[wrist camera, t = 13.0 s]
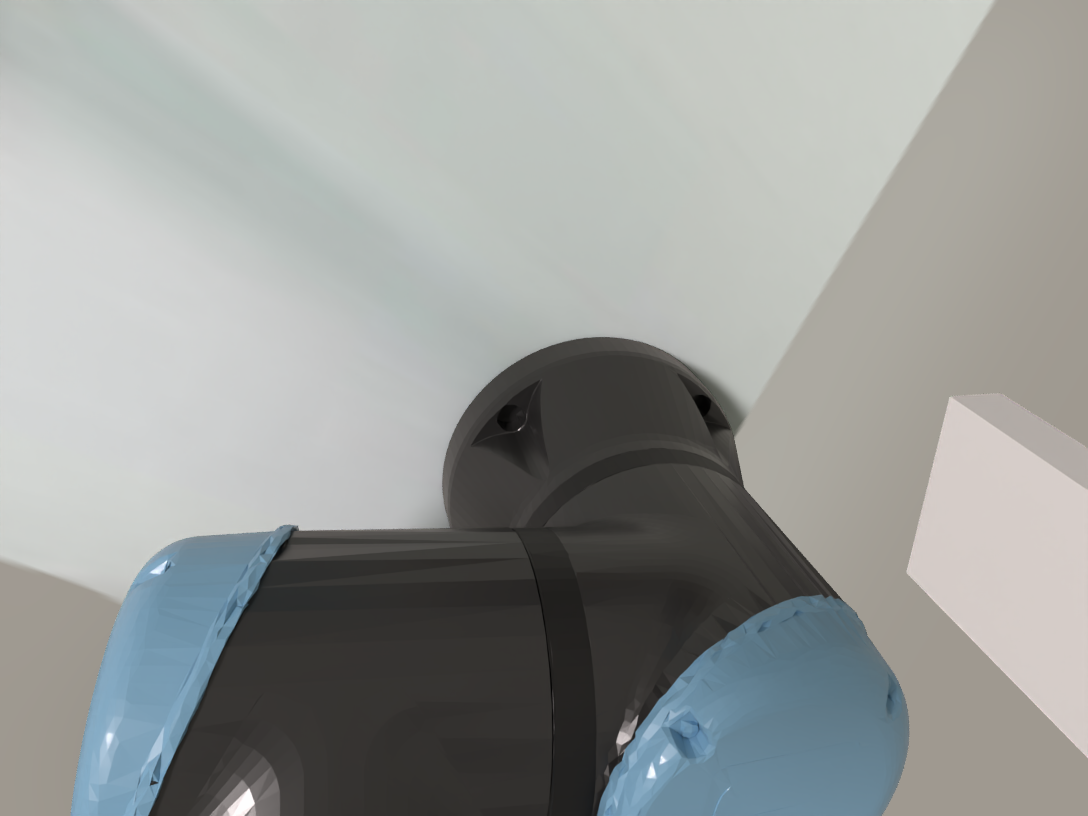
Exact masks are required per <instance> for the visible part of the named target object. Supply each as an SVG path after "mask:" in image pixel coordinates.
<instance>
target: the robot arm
mask: <svg viewBox="0 0 1088 816" xmlns="http://www.w3.org/2000/svg"><path fill="white" fill-rule="evenodd" d="M442 487H443V499H444V505H445V509H446V513H447V517H448V521H449V524H450V528H438V529H375V530H311V531H299V529H298V526H295V525H283V526H280V527H279V528H278V529H276V530H275V531H272V532H257V533H242V534H226V535H211V536H197V537H191V538H186V539H182V540H179V541H176V542H174V543H172V544H170V545H168V546H167V547H165V548H164V549H162V550H161V551H160V552H158V553H157V554H156V555H154V556H153V557H152V558H151V559H150V560H149V561H148V562H147V563H146V564H145V566H144V567H143V568H142V569H141V571H140V572H139V573H138V575H137V576H136V578H135V580H134V582H133V583H132V585H131V587H130V589H129V591H128V593H127V595H126V598H125V599H124V601H123V604H122V606H121V608H120V611H119V613H118V616H117V618H116V621H115V623H114V626H113V629H112V632H111V635H110V638H109V641H108V644H107V647H106V650H105V653H104V657H103V660H102V663H101V667H100V670H99V674H98V678H97V682H96V685H95V689H94V693H93V697H92V701H91V705H90V709H89V713H88V718H87V722H86V727H85V732H84V736H83V741H82V746H81V752H80V758H79V762H78V768H77V774H76V780H75V786H74V793H73V800H72V808H71V816H882V814H883V812H884V811H885V810H886V808H887V806H888V804H889V802H890V800H891V798H892V796H893V794H894V792H895V790H896V788H897V785H898V783H899V780H900V778H901V775H902V771H903V768H904V764H905V761H906V757H907V750H908V744H909V716H908V709H907V705H906V701H905V697H904V695H903V692H902V689H901V687H900V684H899V682H898V680H897V678H896V676H895V675H894V673H893V672H892V670H891V669H890V667H889V666H888V665H887V663H886V661H885V660H884V659H883V657H882V656H881V654H880V653H879V652H878V650H877V649H876V647H875V646H874V645H873V643H872V642H871V640H870V639H869V638H868V636H867V632H866V630H865V627H864V625H863V623H862V621H861V620H860V619H859V618H858V616H857V614H856V612H855V611H854V610H853V609H852V608H851V607H849V606H848V605H847V604H846V603H845V602H844V601H843V600H842V599H841V598H840V597H839V596H838V594H837V593H836V592H835V591H834V590H833V589H832V588H831V586H830V585H829V584H828V583H827V582H826V581H825V580H824V579H823V577H822V576H821V575H820V574H819V573H818V572H817V570H816V569H815V568H814V567H813V566H812V565H811V564H810V562H808V560H807V559H806V558H805V557H804V556H803V555H802V554H801V552H800V551H799V550H798V549H797V548H796V547H795V545H794V544H793V543H792V542H791V541H790V540H789V539H788V538H787V537H786V535H785V534H784V533H783V532H782V531H781V530H780V528H779V527H778V526H777V525H776V524H775V523H774V522H773V520H772V519H771V518H770V517H769V516H768V515H767V514H766V513H765V512H764V510H763V509H762V508H761V507H760V506H759V505H758V503H757V502H756V501H755V500H754V499H753V498H752V497H751V495H750V494H749V493H748V492H747V491H746V490H745V488H744V485H743V480H742V475H741V470H740V466H739V461H738V455H737V450H736V445H735V441H734V436H733V433H732V430H731V427H730V425H729V422H728V420H727V418H726V416H725V414H724V412H723V410H722V408H721V406H720V405H719V403H718V402H717V400H716V399H715V397H714V396H713V395H712V394H711V392H710V391H709V390H708V389H707V388H706V387H705V386H704V385H703V384H702V382H701V381H700V380H699V379H698V378H697V377H696V376H695V375H694V374H693V373H692V372H691V371H690V370H689V369H688V368H687V367H686V366H685V365H684V364H682V363H681V362H680V361H678V360H677V359H675V358H674V357H672V356H671V355H669V354H667V353H665V352H664V351H662V350H660V349H657V348H655V347H652V346H650V345H647V344H644V343H641V342H637V341H633V340H628V339H621V338H610V337H594V338H583V339H576V340H571V341H567V342H562V343H559V344H556V345H552V346H549V347H547V348H544V349H541V350H539V351H537V352H535V353H532V354H530V355H528V356H527V357H525V358H523V359H521V360H519V361H518V362H516V363H514V364H513V365H511V366H510V367H508V368H507V369H506V370H504V371H503V372H501V373H500V374H499V375H498V376H497V377H495V378H494V379H493V380H492V381H491V382H490V383H489V384H488V385H487V386H486V387H485V388H484V389H483V390H482V391H481V392H480V393H479V394H478V395H477V396H476V397H475V399H474V400H473V401H472V403H471V404H470V405H469V407H468V408H467V409H466V411H465V412H464V414H463V416H462V417H461V419H460V421H459V423H458V424H457V426H456V428H455V431H454V433H453V435H452V438H451V440H450V443H449V446H448V449H447V453H446V457H445V461H444V468H443V480H442ZM906 573H907V574H908V575H909V576H910V577H911V578H912V579H913V580H914V581H915V582H916V583H917V584H918V585H919V586H920V587H921V588H922V589H923V590H924V591H925V592H926V593H927V594H928V595H929V596H930V597H931V598H932V600H933V601H934V602H935V603H936V604H937V605H938V606H940V608H941V609H942V610H943V611H944V612H945V613H946V614H947V615H948V616H949V617H950V618H951V619H952V620H953V621H954V622H955V623H956V624H957V625H958V626H959V627H960V628H961V629H962V630H963V631H964V632H965V633H966V634H967V635H968V636H969V637H970V638H971V639H972V640H973V641H974V642H975V643H976V644H977V645H978V646H979V647H980V648H981V650H982V651H984V653H985V654H986V655H988V657H989V658H990V659H991V660H992V661H993V662H994V663H995V664H996V665H997V666H998V667H999V668H1000V669H1001V670H1002V671H1003V672H1004V673H1005V674H1006V675H1007V676H1008V677H1009V678H1010V679H1011V680H1012V681H1013V682H1014V683H1015V684H1016V685H1017V686H1018V687H1019V688H1020V689H1021V690H1022V691H1023V692H1024V693H1025V694H1026V695H1027V696H1028V697H1029V698H1030V699H1031V700H1032V701H1033V702H1034V703H1035V705H1036V706H1037V707H1038V708H1039V709H1040V710H1041V711H1042V712H1043V713H1044V714H1045V715H1046V716H1047V717H1048V718H1049V719H1050V720H1051V721H1052V722H1053V723H1054V724H1055V725H1056V726H1057V727H1058V728H1059V729H1060V730H1061V731H1062V732H1063V733H1064V734H1065V735H1066V736H1067V737H1068V738H1069V739H1070V740H1071V741H1072V742H1073V743H1074V744H1075V745H1076V746H1077V747H1078V748H1079V749H1080V750H1081V751H1082V753H1083V754H1084V755H1085V756H1086V757H1087V758H1088V448H1087V447H1086V446H1084V445H1082V444H1081V443H1079V442H1078V441H1076V440H1074V439H1073V438H1071V437H1070V436H1068V435H1066V434H1065V433H1063V432H1062V431H1060V430H1058V429H1057V428H1055V427H1054V426H1052V425H1051V424H1049V423H1047V422H1046V421H1044V420H1042V419H1041V418H1039V417H1038V416H1036V415H1035V414H1033V413H1032V412H1030V411H1028V410H1027V409H1025V408H1024V407H1022V406H1020V405H1019V404H1017V403H1016V402H1014V401H1012V400H1011V399H1009V398H1007V397H1006V396H1004V395H1003V394H1001V393H995V394H979V395H962V396H950V398H949V402H948V406H947V410H946V415H945V418H944V422H943V426H942V430H941V434H940V438H939V442H938V447H937V450H936V454H935V458H934V462H933V467H932V471H931V475H930V479H929V483H928V487H927V491H926V495H925V499H924V503H923V507H922V511H921V515H920V519H919V523H918V528H917V531H916V535H915V539H914V543H913V547H912V551H911V555H910V559H909V563H908V567H907V571H906Z"/></svg>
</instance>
